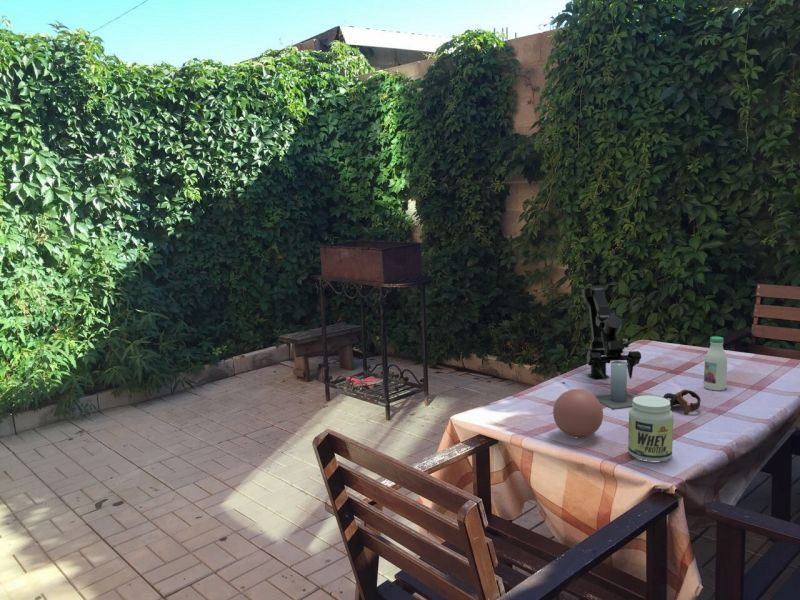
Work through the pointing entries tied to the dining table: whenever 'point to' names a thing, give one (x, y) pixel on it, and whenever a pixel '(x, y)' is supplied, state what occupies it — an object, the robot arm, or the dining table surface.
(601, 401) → the coaster mat
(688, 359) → the dining table surface
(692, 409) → the brown black curved piece
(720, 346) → the milk bottle
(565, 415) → the brown rubber ball
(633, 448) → the supplement tub
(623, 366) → the tumbler
